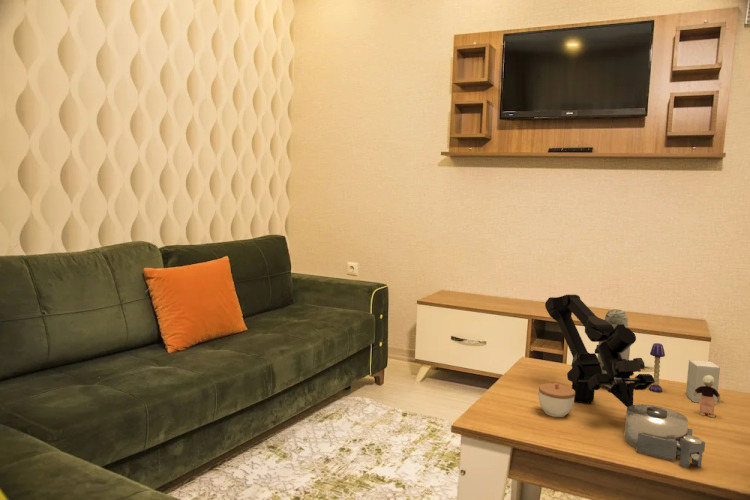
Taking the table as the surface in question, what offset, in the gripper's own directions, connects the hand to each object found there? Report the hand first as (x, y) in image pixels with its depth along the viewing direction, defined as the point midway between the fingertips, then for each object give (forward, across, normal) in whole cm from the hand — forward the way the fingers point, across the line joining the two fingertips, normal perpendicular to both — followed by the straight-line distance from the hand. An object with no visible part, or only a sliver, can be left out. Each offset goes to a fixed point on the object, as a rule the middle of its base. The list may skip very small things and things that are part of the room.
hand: (631, 409), depth 158 cm
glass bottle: (-20, +18, +30) cm, 40 cm away
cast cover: (+10, +2, -1) cm, 10 cm away
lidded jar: (-5, -15, +16) cm, 22 cm away
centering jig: (+16, +2, -7) cm, 18 cm away
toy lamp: (-18, +32, +26) cm, 45 cm away
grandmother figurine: (-2, +33, +10) cm, 35 cm away
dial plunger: (+17, +2, -10) cm, 19 cm away
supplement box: (-11, +42, +19) cm, 47 cm away
